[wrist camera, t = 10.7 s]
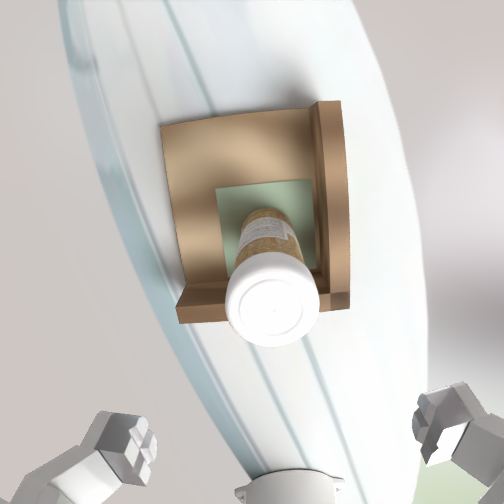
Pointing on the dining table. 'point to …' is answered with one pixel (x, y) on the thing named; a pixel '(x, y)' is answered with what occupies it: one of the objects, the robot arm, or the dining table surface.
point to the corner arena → (258, 197)
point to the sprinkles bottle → (270, 283)
